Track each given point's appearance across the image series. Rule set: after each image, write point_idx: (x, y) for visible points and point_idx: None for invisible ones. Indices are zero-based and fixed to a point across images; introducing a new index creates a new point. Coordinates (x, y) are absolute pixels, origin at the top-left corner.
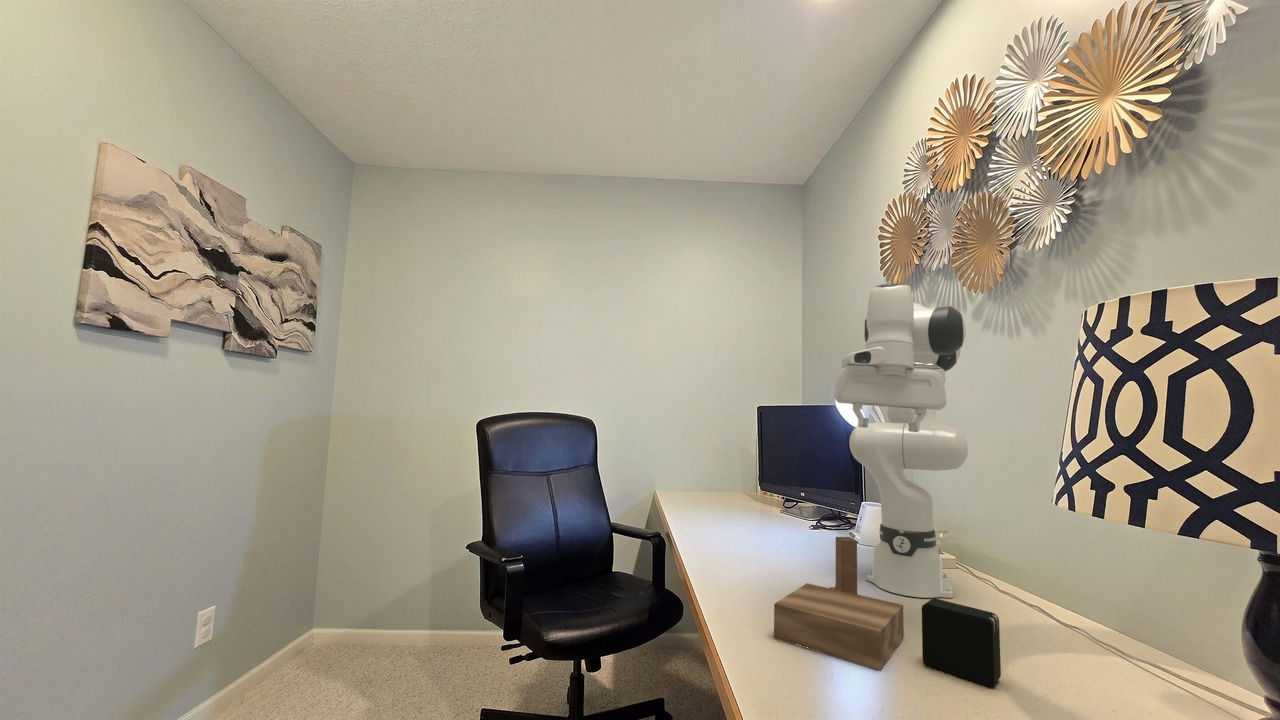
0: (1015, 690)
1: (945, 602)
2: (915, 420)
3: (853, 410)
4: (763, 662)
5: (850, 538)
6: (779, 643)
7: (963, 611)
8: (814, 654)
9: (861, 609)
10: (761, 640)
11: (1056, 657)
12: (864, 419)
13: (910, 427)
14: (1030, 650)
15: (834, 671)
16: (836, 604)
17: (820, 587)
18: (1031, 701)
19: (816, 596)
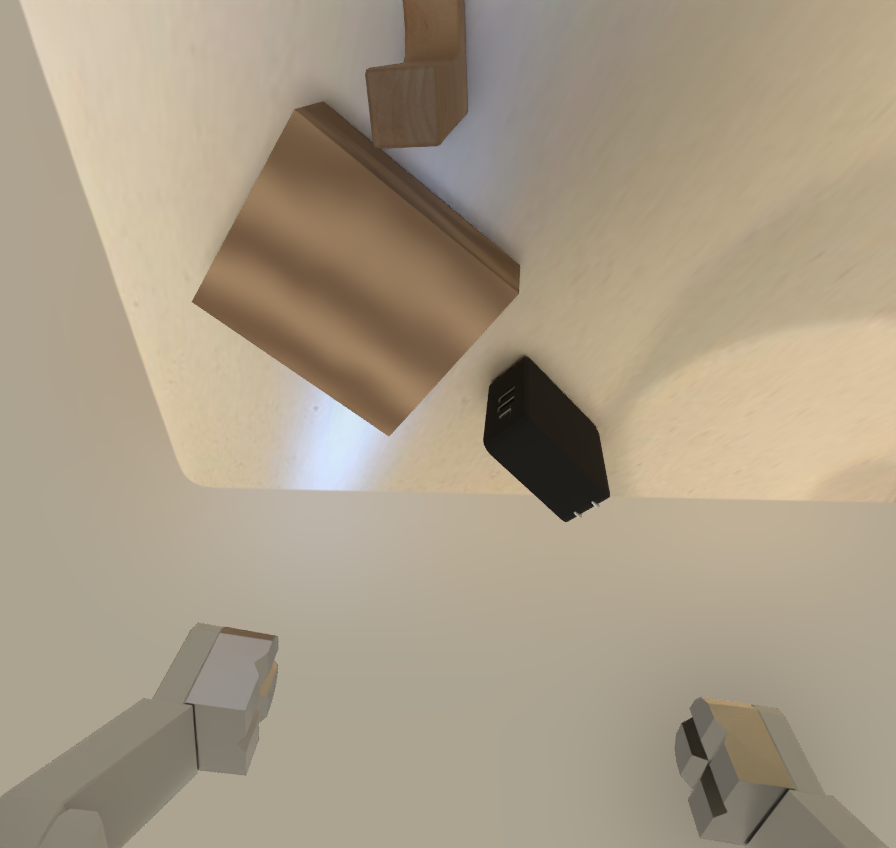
0: None
1: (539, 447)
2: (791, 846)
3: (24, 791)
4: (207, 373)
5: (422, 108)
6: None
7: (543, 490)
8: None
9: (393, 329)
10: None
11: (818, 342)
12: (213, 754)
13: (707, 751)
14: (793, 311)
15: (322, 400)
16: (342, 298)
17: (330, 154)
18: None
19: (302, 241)
